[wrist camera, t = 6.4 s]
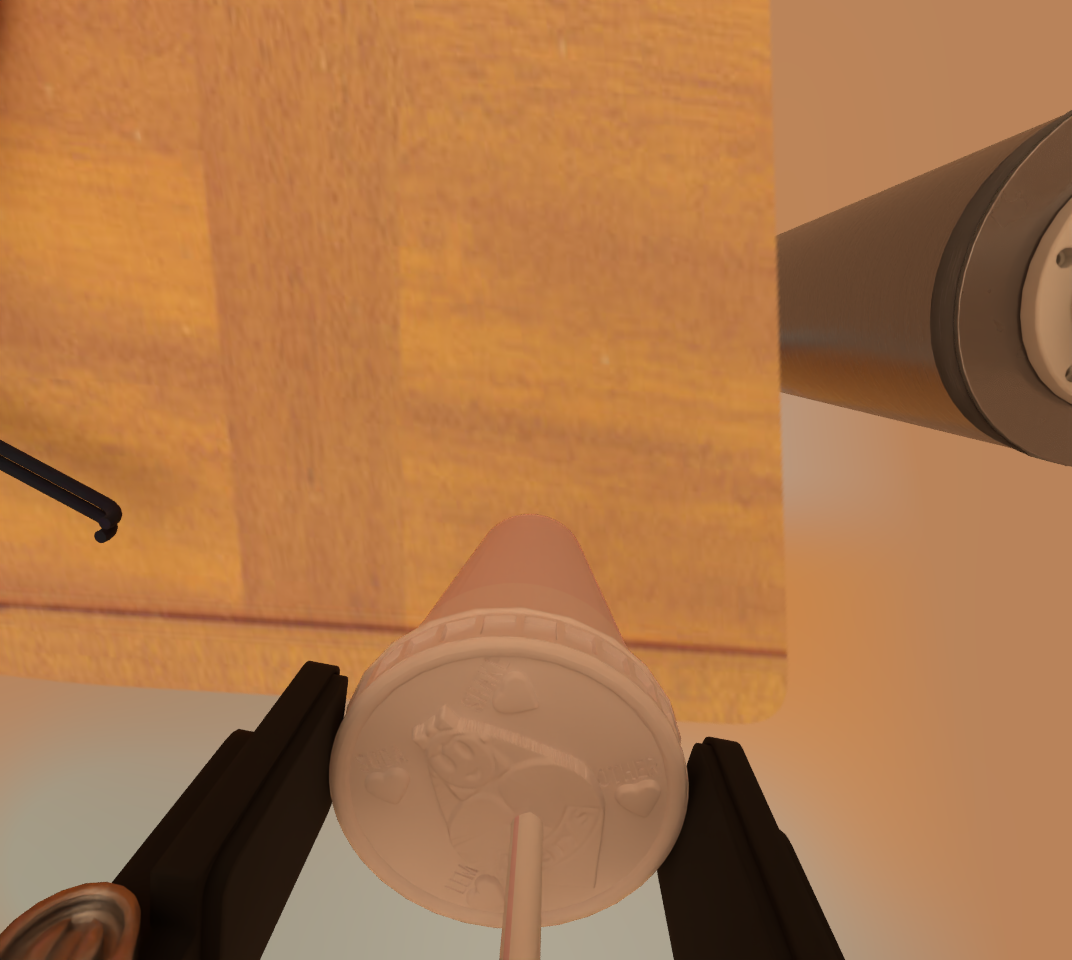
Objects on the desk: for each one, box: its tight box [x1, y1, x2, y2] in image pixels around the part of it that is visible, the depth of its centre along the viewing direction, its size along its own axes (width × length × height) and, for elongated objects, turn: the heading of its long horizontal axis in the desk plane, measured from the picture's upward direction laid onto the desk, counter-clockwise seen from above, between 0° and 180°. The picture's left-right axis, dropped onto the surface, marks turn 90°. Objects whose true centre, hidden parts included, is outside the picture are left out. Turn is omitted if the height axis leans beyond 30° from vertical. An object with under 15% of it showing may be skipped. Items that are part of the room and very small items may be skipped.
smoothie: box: [329, 514, 689, 960], centre depth 12 cm, size 6×6×14 cm
